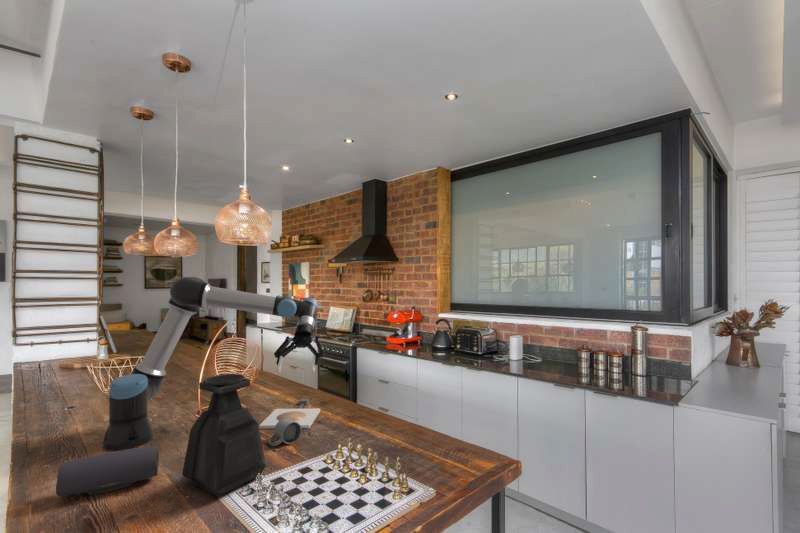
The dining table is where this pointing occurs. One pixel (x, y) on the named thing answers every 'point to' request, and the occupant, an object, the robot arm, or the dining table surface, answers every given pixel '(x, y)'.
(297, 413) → the charging plate
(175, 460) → the dining table surface
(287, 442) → the ceramic mug
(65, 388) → the dining table surface
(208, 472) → the bottle
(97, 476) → the bluetooth speaker
